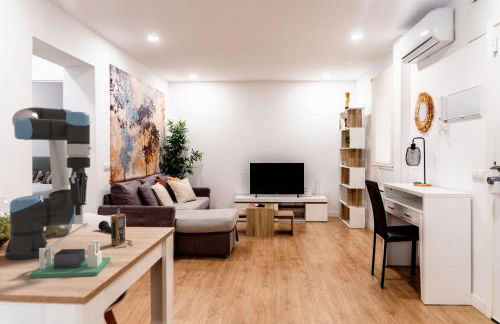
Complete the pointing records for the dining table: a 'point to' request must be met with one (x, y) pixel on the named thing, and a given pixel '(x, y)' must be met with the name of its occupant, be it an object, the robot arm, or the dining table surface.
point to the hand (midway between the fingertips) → (79, 223)
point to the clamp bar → (66, 236)
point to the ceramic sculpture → (57, 230)
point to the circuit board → (88, 268)
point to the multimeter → (118, 228)
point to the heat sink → (69, 258)
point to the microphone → (104, 226)
